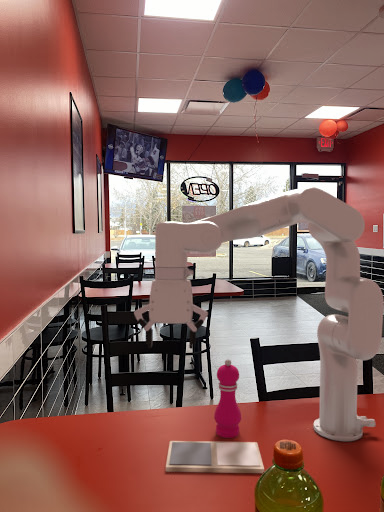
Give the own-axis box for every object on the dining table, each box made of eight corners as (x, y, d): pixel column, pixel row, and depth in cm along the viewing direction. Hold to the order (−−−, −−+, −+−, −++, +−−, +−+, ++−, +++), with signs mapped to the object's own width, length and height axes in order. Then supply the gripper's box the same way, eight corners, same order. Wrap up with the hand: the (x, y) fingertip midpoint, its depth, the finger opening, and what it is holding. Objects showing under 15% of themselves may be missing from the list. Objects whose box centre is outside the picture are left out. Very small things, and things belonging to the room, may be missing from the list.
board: (257, 446, 104) (257, 441, 104) (264, 473, 92) (264, 468, 92) (169, 444, 104) (169, 440, 104) (165, 471, 92) (165, 466, 92)
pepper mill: (240, 427, 114) (241, 355, 113) (241, 439, 107) (242, 363, 106) (214, 425, 115) (215, 355, 114) (213, 438, 108) (213, 362, 107)
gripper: (207, 273, 100) (207, 343, 101) (137, 272, 100) (136, 342, 101) (208, 276, 92) (207, 351, 93) (131, 275, 93) (131, 350, 94)
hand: (170, 346), depth 97 cm, fingers open, 9 cm apart
